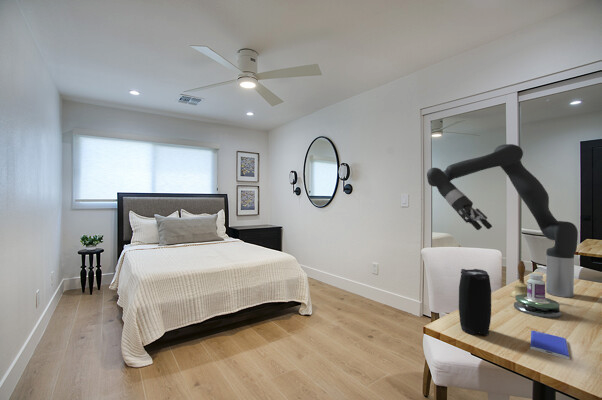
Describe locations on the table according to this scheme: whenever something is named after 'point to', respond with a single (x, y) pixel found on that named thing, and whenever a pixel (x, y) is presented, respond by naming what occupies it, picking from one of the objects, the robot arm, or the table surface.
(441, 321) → the table surface
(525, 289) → the hand bell
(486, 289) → the portable speaker
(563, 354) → the hard drive
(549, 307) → the levelling base
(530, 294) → the pill bottle
